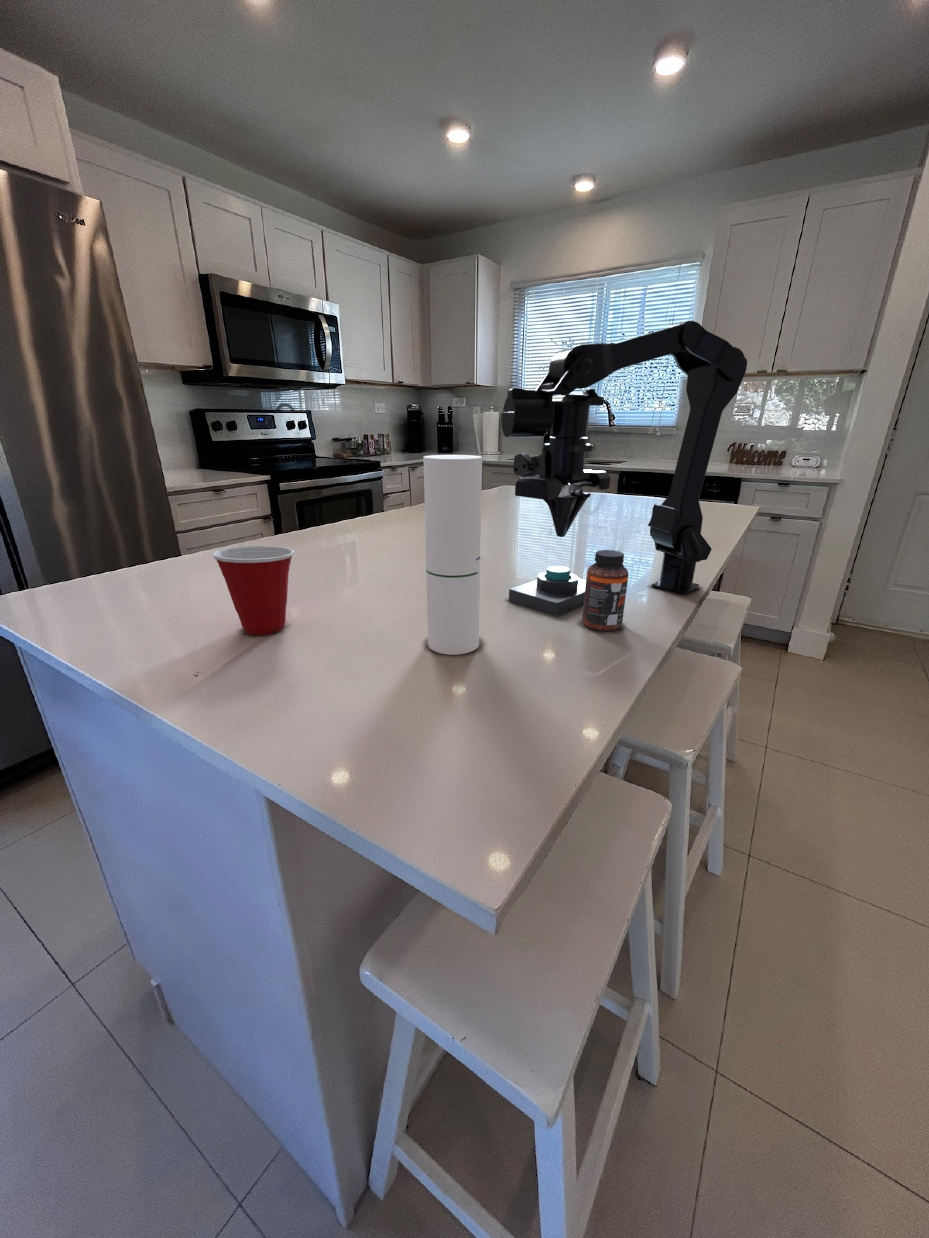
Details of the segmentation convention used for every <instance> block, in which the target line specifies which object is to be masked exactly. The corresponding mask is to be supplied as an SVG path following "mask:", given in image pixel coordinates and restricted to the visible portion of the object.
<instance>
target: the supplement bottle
mask: <svg viewBox="0 0 929 1238" xmlns="http://www.w3.org/2000/svg"><path fill="white" fill-rule="evenodd" d="M624 557H625V554H624V553H623V552H622V551H619V550H614V549H613V550H612V549H601V550H597V551H596V552H595V556H594V561H595V563H593V564H591V565H589V567H587V571H586V577H585V580H586V586H585V596H584V604H583V605H582V607H583V608H582V617H581V618H582V619H581V620H582V623H583V625H585V626H586V627H587V628H590V629H591V630H596V631H601V632H602V631H603V632H610V631H616V630H618V629H620V628H621V627H622V624H623V621H624V620H623V619H624V613H625V604H626V598H627V591H628V590H627V589H628V581H629V570H628V568H626V567H625V566H624V560H625V559H624Z"/></svg>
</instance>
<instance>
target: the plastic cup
mask: <svg viewBox="0 0 929 1238" xmlns="http://www.w3.org/2000/svg"><path fill="white" fill-rule="evenodd" d="M295 552H296V551H295V550H293V549H292V548H289V547H285V546H275V545H246V546H245V545H244V546H235V547H227V548H222V549H217V550H215V551H213V552H212V556H213V558H214V560H216V562H217V564H218V567H219V570H220V571H221V574H222V577H223V579H224V581H225V584H226V587H227V590H228V593H229V596H230V598H231V601H232V604H233V606H234V608H235V612H236V614H237V616H238V619H239V621H240V622H239V623H240V625H241V627H242V629H243V630H244V632H245V634H248V635H251V636H265V635H271V634H274V633H278V632H280V631H282V630H283V629H284V627H285V626H286V621H287V620H286V617H287V605H288V591H289V589H288V588H289V573H290V569H291V563H292V558H293V556H294V555H295Z"/></svg>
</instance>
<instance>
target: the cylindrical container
mask: <svg viewBox="0 0 929 1238" xmlns="http://www.w3.org/2000/svg"><path fill="white" fill-rule="evenodd" d="M482 482H483V456H481V455H472V454H432V455H424V456H423V491H424V493H423V494H424V495H423V496H424V497H423V498H424V529H425V531H424V535H425V565H426V566H425V570H426V571H425V574H426V575H425V577H426V611H427V613H426V618H427V621H426V622H427V646H428V648H429V649H430V650H432V651H433V652H435V653H438V654H443V655H448V656H449V655H450V656H451V655H452V656H455V655H457V656H459V655H465V654H468V653H471V652H473V651H476V650H477V649H478V648H479V646H480V613H481V612H480V611H481V608H480V607H481V605H480V604H481V551H482V550H481V549H482V548H481V545H482V492H483V491H482V490H483V489H482V486H483V483H482Z"/></svg>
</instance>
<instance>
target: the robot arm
mask: <svg viewBox="0 0 929 1238" xmlns="http://www.w3.org/2000/svg"><path fill="white" fill-rule="evenodd" d="M669 355H671V357H673V360H674V362H675V364H676V367H677V368H678V369H679V370H680V371H681V372H682V373H683V374H684V375H686V376H687V378H686V389H685V390H686V395H687V399H688V403H689V413H688V416H687V421H686V425H685V429H684V433H683V437H682V441H681V445H680V448H679V454H678V457H677V460H676V464H675V469H674V474H673V478H672V480H671V485H670V489H669V493H668V496H667V497H666V498H665V499H664V501H663V502H662V503H661V504H658V503H654V504H653V507H652V511H651V517H650V521H649V522H648V524H647V526H648V527H649V536H650V537H651V539H652V540H653V543H654V547H655V550H656V552H657V551H658V552H661V553H663V556H662V562H661V570H660V575H659V580H657V581H655V582H652V583H651V587H652V588H657V589H660V590H664V591H668V592H672V593H673V592H674V593H678V594H682V595H686V594H688V593H691V592H692V591H695V590H696V589H698V588H699V587H700V584H699V583H696V582H694V578H695V573H696V567H697V563H700V562H701V561H707V560H708V558H709V556H710V554H711V552H712V546H710V544H709V542H707V540H706V539H705V537H704V536H703V535H702V528H703V521H704V517H703V512H702V509H701V504H700V496H701V492H702V488H703V485H704V481H705V478H706V474H707V470H708V467H709V463H710V459H711V455H712V451H713V448H714V444H715V441H716V437H717V433H718V429H719V426H720V421H721V419H722V415H723V412H724V410H725V408H726V407H728V405H729V403H730V402H732V400H733V398H734V397H735V396H736V395H737V394H738V392H739V390H740V387H741V385H742V382H743V380H744V378H745V375H746V373H747V367H748V359H747V358H746V357H745V353H744V352H743V351H742V349H741V348H739V347H736V346H733V345H732V344H731V343H730V342H729V341H728V340H726V339H724V338H722V337H720V336H718V335H716V334H714V333H712V332H711V331H708V330H707V329H706V328H704V327H703V325H701V323H699V322H697V321H695V320H687V321H686V320H685V321H683V322H678V323H674V324H672V325H670V326H669V327H666V328H663V329H659V330H655V331H652V332H649V333H646V334H641V335H639V336H635V337H631V338H628V339H624V340H621V341H617V342H612V343H609V342H607V343H605V342H604V343H603V342H600V343H583V344H578V345H575V346H571V347H567V348H563V349H560V350H558V351H556V352H555V353H554V354H553V356H552V358H551V360H550V362H549V366H548V372H547V373H546V374H545V376H544V377H543V379H542V380H541V381H540V383H539V385H538V386H537V387H536V389H524V388H519V387H518V388H517V387H516V388H515V387H512V388H508V389H507V397H506V399H505V401H504V404H503V408H502V412H501V416H500V423H501V431H502V434H503V436H504V437H505V438H507V439H509V438H514V439H515V438H543V437H544V436H545V435H546V434H547V432H549V442H548V443H544V444H543V446H541V453H540V454H538V455H535V456H531V455H530V454H529V453H528V452H522V453H517V454H516V455H514V458H513V464H512V467H513V469H512V471H513V472H512V473H513V474H515V476H517V477H519V478H518V479H517V480H516V481H515V483H514V497H522V498H530V499H536V500H543V501H544V502H545V503H546V504H547V506H548V508H549V511H550V515H551V518H552V521H553V526H554V530H555V534H556V536H557V537H559V538H563V537H564V538H565V537H566V535H567V533H568V531H569V530H570V528H571V526H572V525H573V523H574V521H575V519H576V517H577V516H578V514H579V513H580V511H581V509H582V508H583V506H584V505H585V503H586V502H587V500H588V499H589V498H590V497H591V495H592V494H591V493H588V492H585V488H583V487H590V488H597V490H599V491H603V490H604V491H605V490H608V489H610V486H611V476H610V475H609V473H608V471H606V470H594V469H593V470H592V469H585V466H586V455H587V454H586V453H587V452H592V449H593V444H590V443H587V442H588V431H589V430H588V429H589V422H590V420H589V419H590V411H591V410H590V409H591V407H597V406H598V407H599V406H600V407H601V406H603V405H604V404H605V401H604V400H603V399H602V397H600V395H598V393H597V391H596V389H594V388H589V387H591V386H593V385H595V384H597V383H599V382H601V381H603V380H604V379H606V378H607V377H609V376H610V375H612V374H613V373H615V372H617V371H619V370H621V369H625V368H628V367H631V366H635V365H638V364H641V363H645V362H648V361H653V360H655V359H658V358H662V357H666V356H669ZM587 388H588V389H587ZM579 389H580V390H581V389H585V391H584V392H583V393H573V392H574V391H575V390H579ZM553 397H563V398H562V399H561V401H558V400H557V401H555V400H553Z"/></svg>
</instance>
